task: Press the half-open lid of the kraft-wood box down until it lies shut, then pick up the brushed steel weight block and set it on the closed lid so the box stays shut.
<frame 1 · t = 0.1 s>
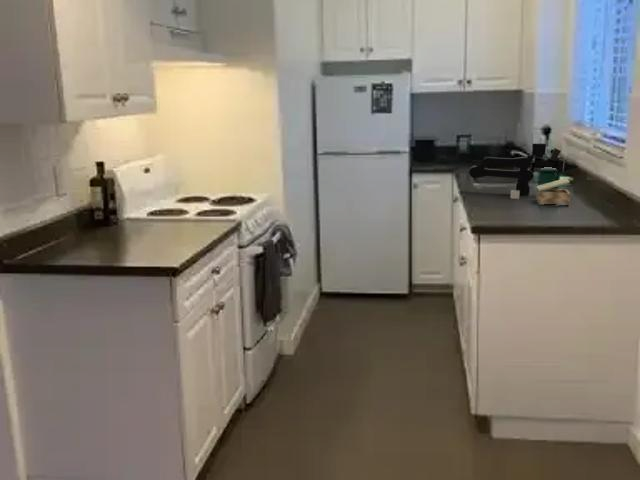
hand: (576, 165, 349), 16 cm above the counter, tool horizontal, fingers open, 9 cm apart
weight: (514, 198, 344), on the counter
lid: (552, 184, 330), point 9 cm above the counter, hinge at 20.0°
box: (552, 203, 332), on the counter
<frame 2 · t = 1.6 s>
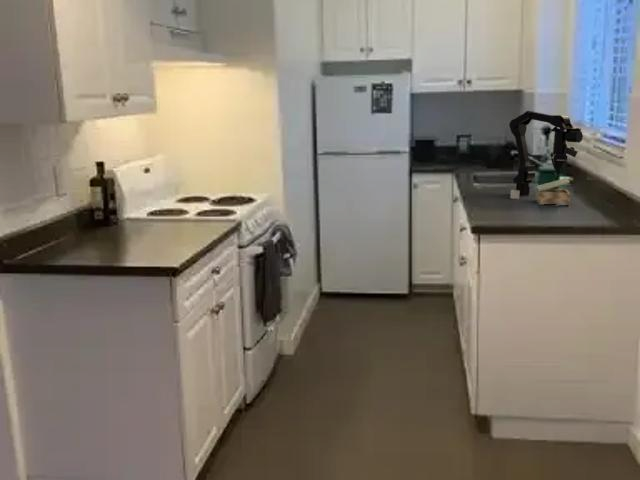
hand: (556, 173, 340), 13 cm above the counter, tool pointing down, fingers open, 8 cm apart
nothing on the counter moved.
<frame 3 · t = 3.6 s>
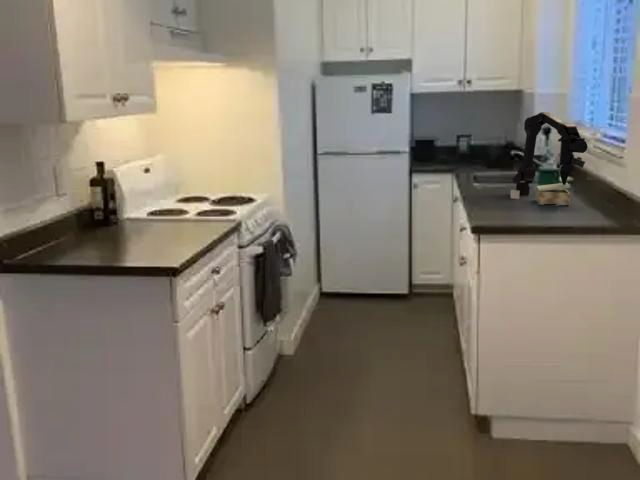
hand: (564, 184, 329), 9 cm above the counter, tool pointing down, fingers closed, pressing on lid
lid: (553, 186, 330), point 8 cm above the counter, hinge at 10.5°, touching gripper
everything else where it was.
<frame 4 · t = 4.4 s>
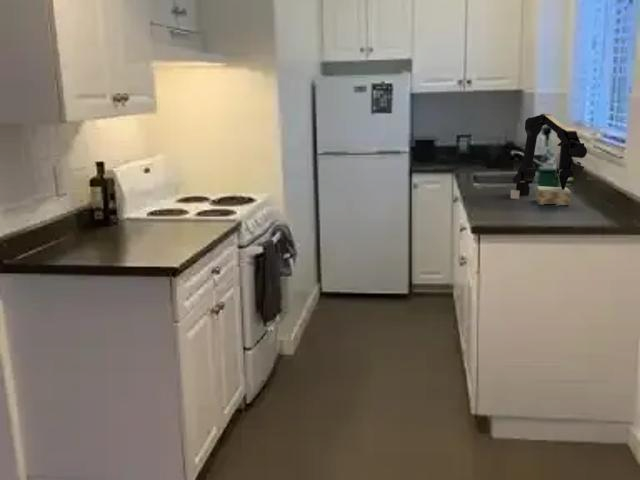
hand: (563, 189, 329), 7 cm above the counter, tool pointing down, fingers closed
lid: (553, 189, 330), point 6 cm above the counter, hinge at 0.0°
everything else where it was.
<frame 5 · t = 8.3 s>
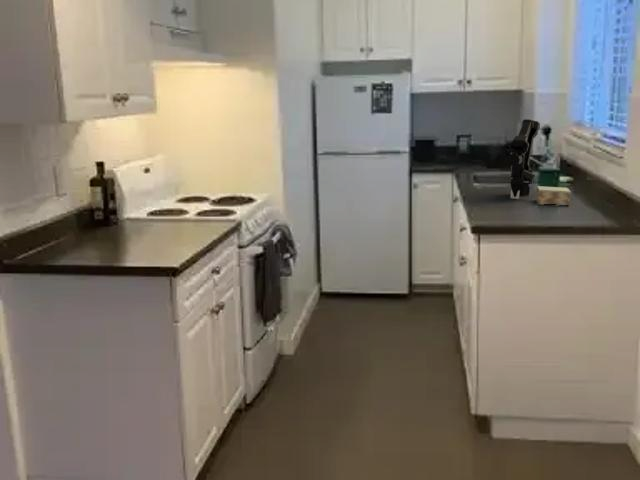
hand: (514, 196, 344), 1 cm above the counter, tool pointing down, fingers closed on weight, 4 cm apart
weight: (514, 198, 344), on the counter, touching gripper
everything else where it was.
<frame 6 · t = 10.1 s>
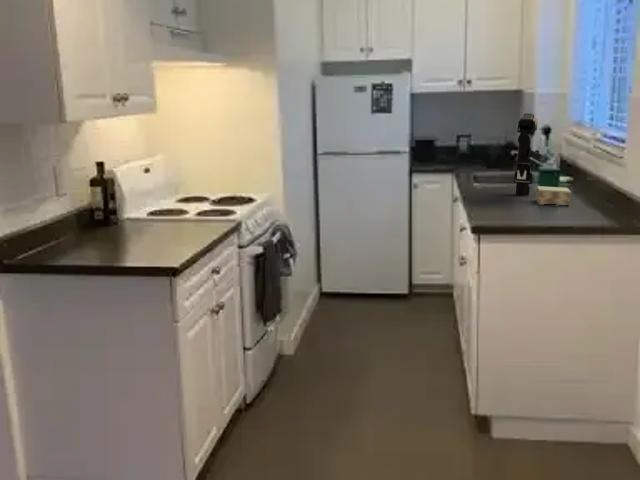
hand: (521, 176, 340), 11 cm above the counter, tool pointing down, fingers closed on weight, 4 cm apart
weight: (521, 178, 340), point 10 cm above the counter, touching gripper
everything else where it was.
when the fingers open (9 cm above the counter, at t = 11.7 s): weight drops 1 cm, resting on lid.
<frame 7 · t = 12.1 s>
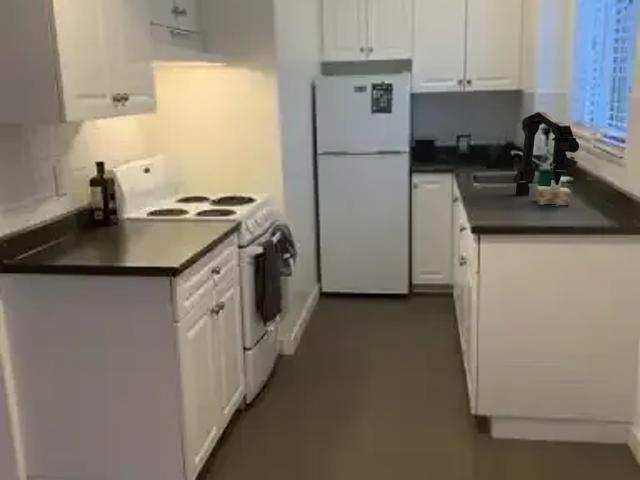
hand: (556, 183, 330), 9 cm above the counter, tool pointing down, fingers open, 8 cm apart
weight: (555, 188, 330), point 7 cm above the counter, touching lid
lid: (553, 189, 330), point 6 cm above the counter, hinge at -0.3°, touching weight
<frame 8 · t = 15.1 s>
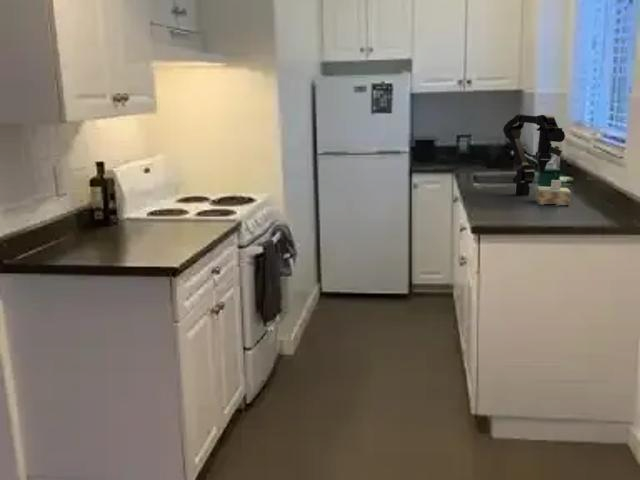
hand: (541, 172, 343), 13 cm above the counter, tool pointing down, fingers open, 9 cm apart
nothing on the counter moved.
at the end: lid at +0° (first picture: +20°); weight inside the target area on the box (0.4 cm from its centre), point 6.9 cm above the box's base; weight touching lid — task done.
